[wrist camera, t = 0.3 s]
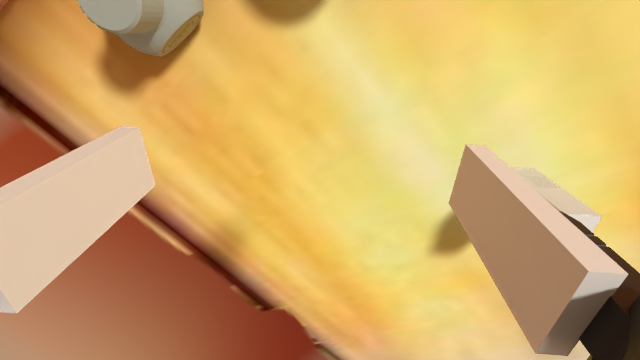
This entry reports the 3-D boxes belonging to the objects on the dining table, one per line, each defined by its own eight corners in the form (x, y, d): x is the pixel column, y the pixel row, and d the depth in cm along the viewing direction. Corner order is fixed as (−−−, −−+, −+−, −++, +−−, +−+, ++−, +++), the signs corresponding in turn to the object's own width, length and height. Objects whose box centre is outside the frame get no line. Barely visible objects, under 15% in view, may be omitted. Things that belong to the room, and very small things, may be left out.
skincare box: (520, 203, 44) (578, 260, 34) (491, 202, 44) (540, 258, 34) (536, 166, 41) (604, 216, 31) (505, 165, 42) (562, 214, 31)
